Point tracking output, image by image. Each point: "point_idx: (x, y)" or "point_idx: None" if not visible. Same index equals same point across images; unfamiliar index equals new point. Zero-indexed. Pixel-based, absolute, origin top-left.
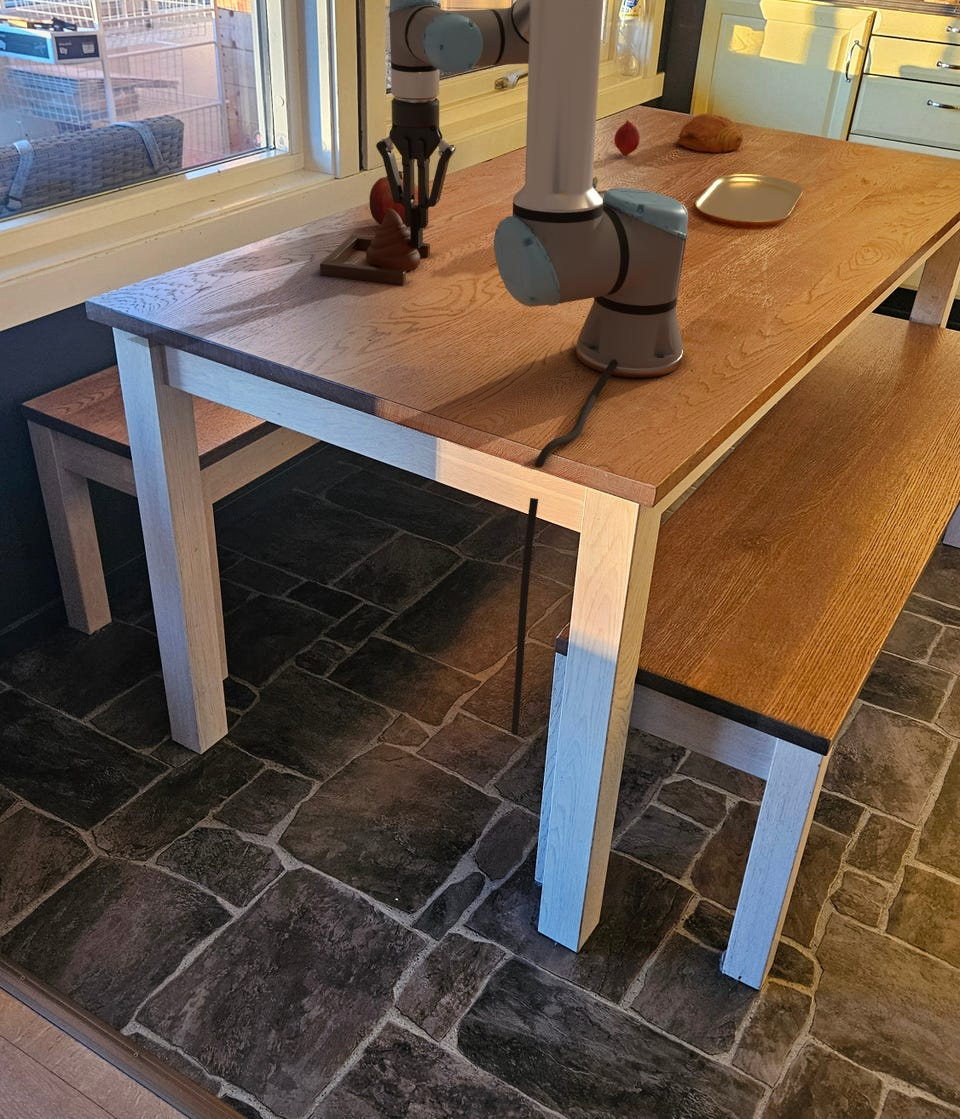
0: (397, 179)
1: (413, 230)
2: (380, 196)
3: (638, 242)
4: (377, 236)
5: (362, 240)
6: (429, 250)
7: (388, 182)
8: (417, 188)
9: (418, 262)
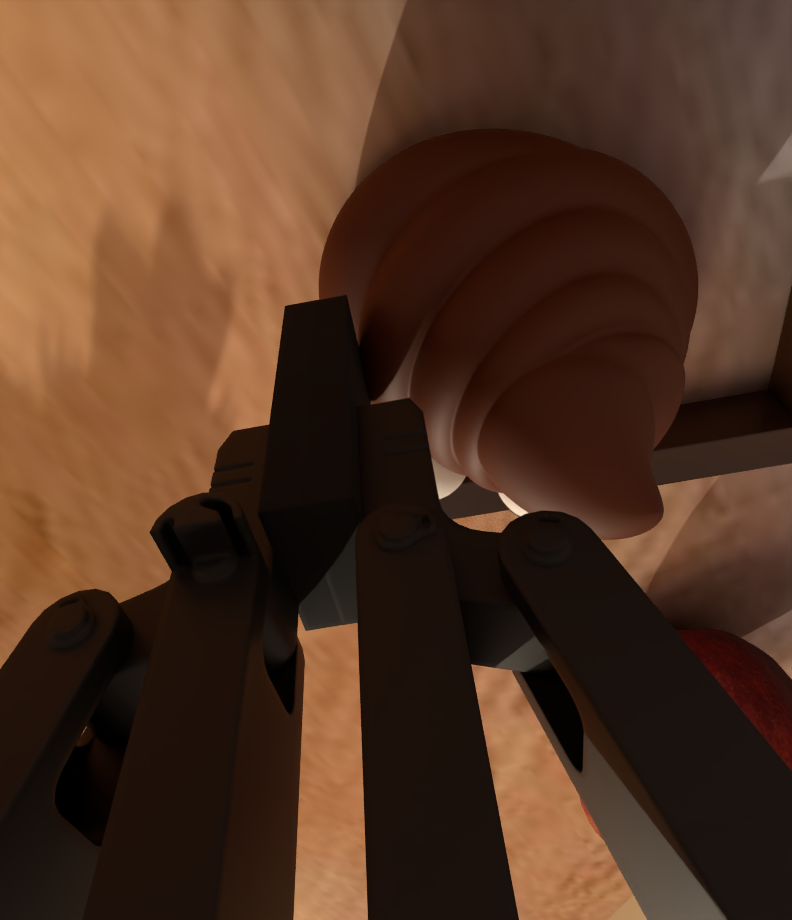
0: (636, 837)
1: (321, 375)
2: (776, 745)
3: None
4: (645, 285)
5: (761, 426)
6: None
7: None
8: None
9: None
